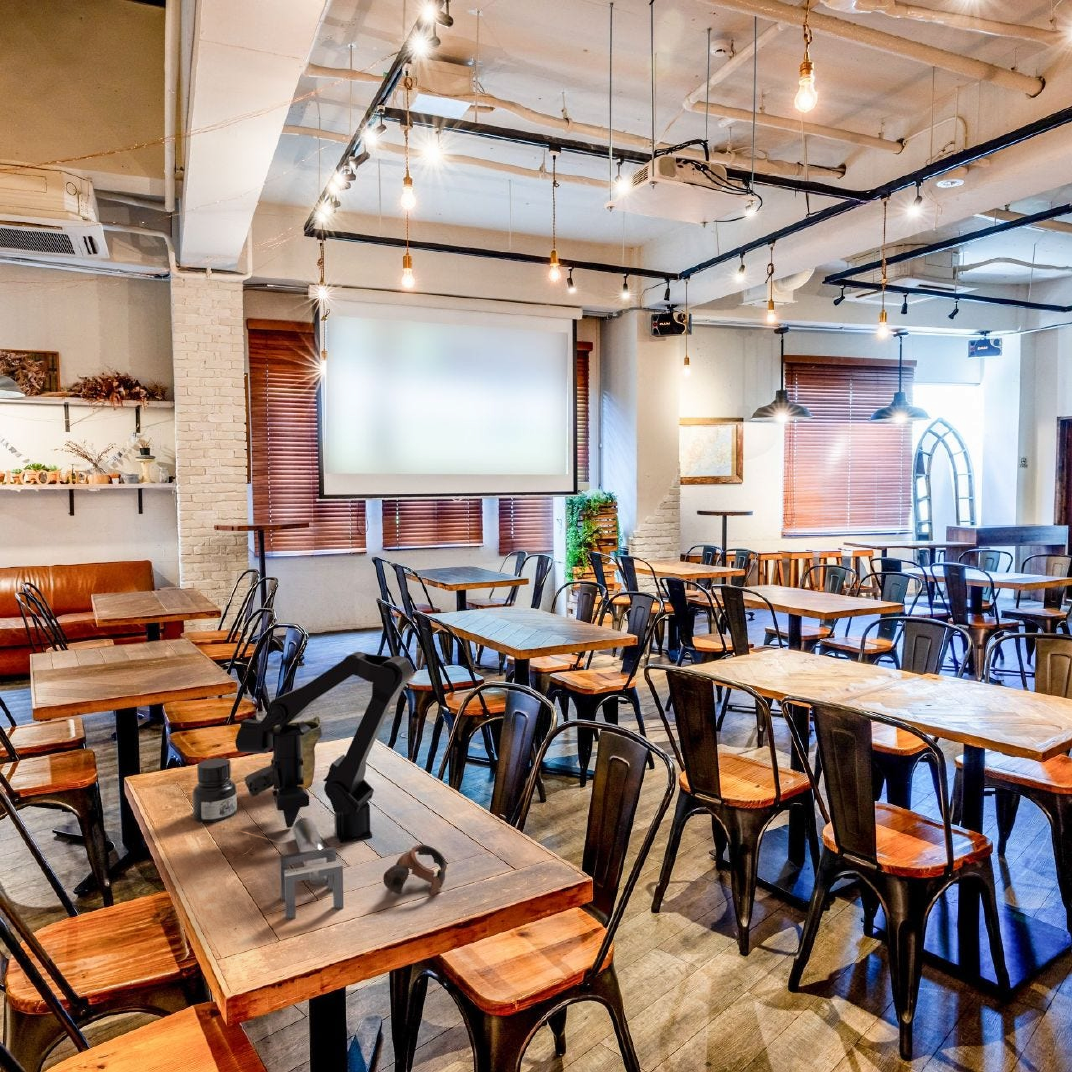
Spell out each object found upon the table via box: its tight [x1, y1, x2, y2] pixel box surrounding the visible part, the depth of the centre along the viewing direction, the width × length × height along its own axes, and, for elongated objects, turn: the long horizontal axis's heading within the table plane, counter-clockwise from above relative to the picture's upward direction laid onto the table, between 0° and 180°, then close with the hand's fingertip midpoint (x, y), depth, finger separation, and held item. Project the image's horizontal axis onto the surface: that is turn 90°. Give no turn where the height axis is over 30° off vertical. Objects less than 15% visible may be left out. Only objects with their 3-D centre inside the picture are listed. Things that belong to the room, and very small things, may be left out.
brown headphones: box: [383, 844, 448, 897], centre depth 143 cm, size 12×9×8 cm
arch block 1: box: [279, 846, 337, 902], centre depth 143 cm, size 9×1×8 cm, turn 114°
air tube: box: [292, 817, 327, 886], centre depth 156 cm, size 22×4×4 cm
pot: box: [275, 715, 323, 790], centre depth 194 cm, size 17×11×18 cm, turn 150°
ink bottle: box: [192, 757, 238, 824], centre depth 178 cm, size 10×9×12 cm
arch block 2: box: [284, 859, 344, 921], centre depth 136 cm, size 9×1×8 cm, turn 114°
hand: (289, 826), depth 170 cm, fingers closed
